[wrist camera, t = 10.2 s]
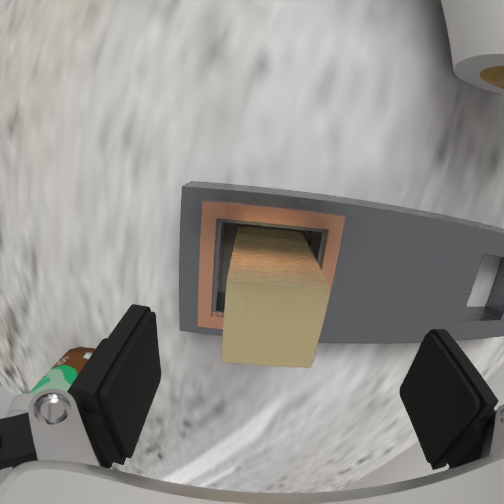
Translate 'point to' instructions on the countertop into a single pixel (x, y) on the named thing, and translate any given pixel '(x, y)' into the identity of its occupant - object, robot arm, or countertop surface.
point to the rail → (349, 263)
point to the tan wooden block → (273, 300)
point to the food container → (54, 378)
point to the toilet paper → (477, 41)
